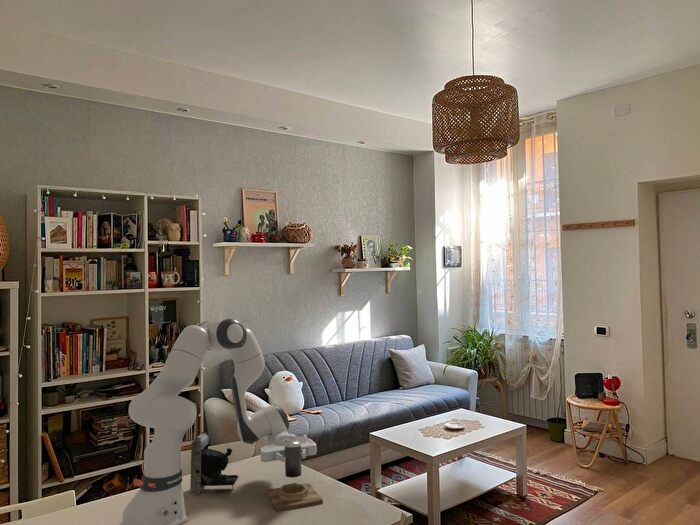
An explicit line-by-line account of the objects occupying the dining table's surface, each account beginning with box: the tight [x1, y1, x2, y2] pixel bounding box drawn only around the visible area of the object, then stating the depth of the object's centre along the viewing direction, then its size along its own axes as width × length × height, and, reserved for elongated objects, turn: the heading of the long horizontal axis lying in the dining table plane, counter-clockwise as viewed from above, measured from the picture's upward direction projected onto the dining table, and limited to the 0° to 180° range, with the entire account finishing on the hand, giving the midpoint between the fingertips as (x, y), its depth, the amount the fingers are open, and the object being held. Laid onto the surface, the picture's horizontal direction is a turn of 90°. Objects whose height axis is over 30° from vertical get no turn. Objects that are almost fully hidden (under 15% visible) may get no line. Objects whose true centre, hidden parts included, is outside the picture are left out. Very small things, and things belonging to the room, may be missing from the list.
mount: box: [265, 482, 324, 512], centre depth 184 cm, size 16×16×3 cm
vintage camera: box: [190, 431, 240, 496], centre depth 193 cm, size 10×16×20 cm, turn 89°
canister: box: [284, 440, 303, 479], centre depth 185 cm, size 6×6×11 cm
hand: (293, 457), depth 184 cm, fingers closed on canister, 6 cm apart
